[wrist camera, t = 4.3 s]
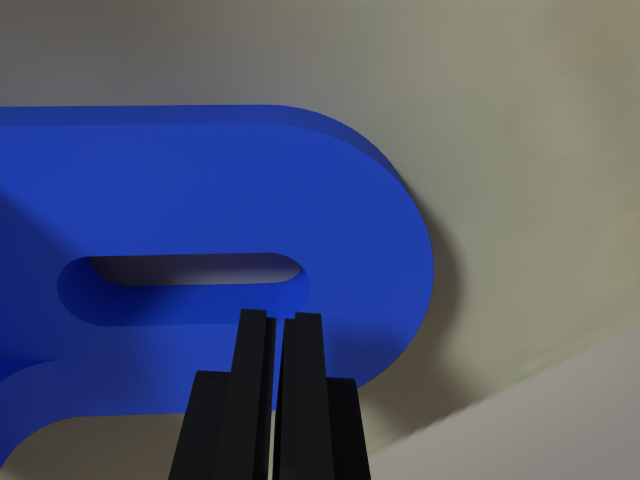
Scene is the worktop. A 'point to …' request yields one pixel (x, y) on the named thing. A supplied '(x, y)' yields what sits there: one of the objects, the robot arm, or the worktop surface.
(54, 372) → the bracket
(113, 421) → the worktop surface
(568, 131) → the worktop surface
